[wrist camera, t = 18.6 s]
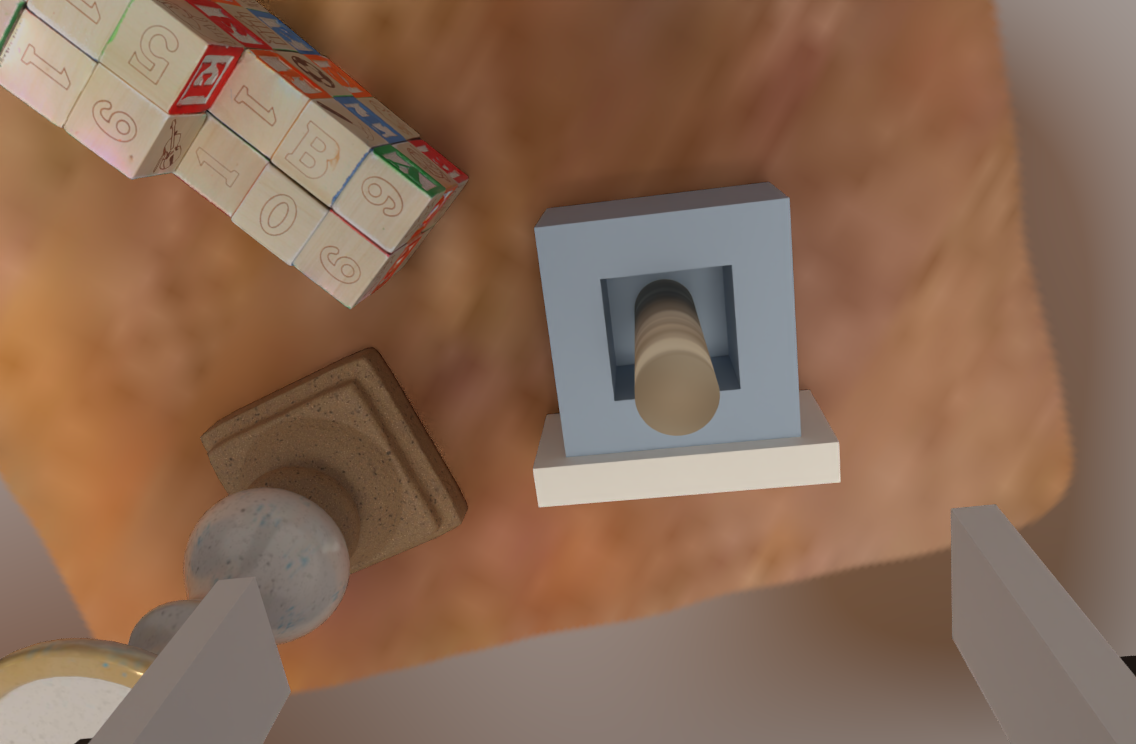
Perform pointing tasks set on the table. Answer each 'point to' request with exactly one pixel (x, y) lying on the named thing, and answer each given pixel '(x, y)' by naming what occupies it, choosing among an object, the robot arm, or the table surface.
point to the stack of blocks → (236, 126)
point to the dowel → (672, 361)
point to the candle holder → (263, 535)
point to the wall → (687, 465)
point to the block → (720, 294)
